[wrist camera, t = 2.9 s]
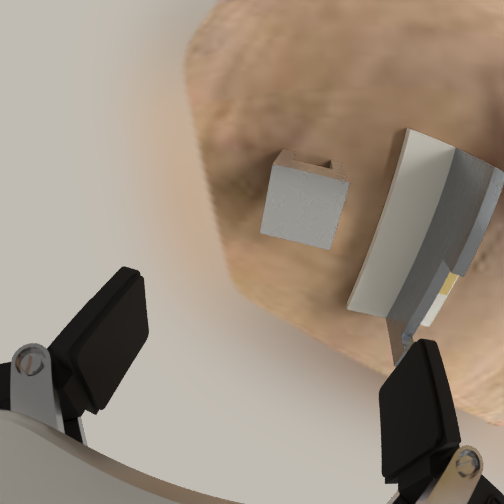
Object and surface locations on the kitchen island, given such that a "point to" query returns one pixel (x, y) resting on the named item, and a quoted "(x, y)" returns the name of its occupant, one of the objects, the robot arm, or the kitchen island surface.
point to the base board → (404, 227)
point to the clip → (304, 201)
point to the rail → (445, 244)
